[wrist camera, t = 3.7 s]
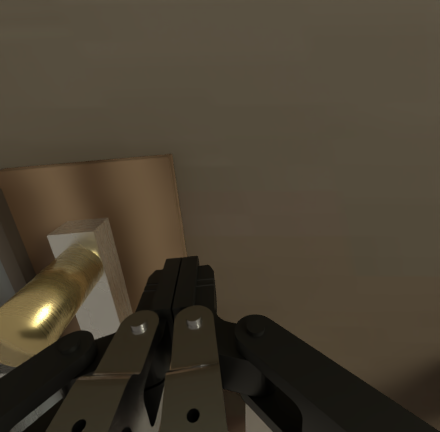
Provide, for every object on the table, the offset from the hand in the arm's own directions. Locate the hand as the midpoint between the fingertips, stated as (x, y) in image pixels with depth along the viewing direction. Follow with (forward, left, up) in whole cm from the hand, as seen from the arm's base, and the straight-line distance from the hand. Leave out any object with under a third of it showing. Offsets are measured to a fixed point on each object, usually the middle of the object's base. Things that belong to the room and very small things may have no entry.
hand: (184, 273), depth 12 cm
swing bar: (+6, +6, -4) cm, 9 cm away
